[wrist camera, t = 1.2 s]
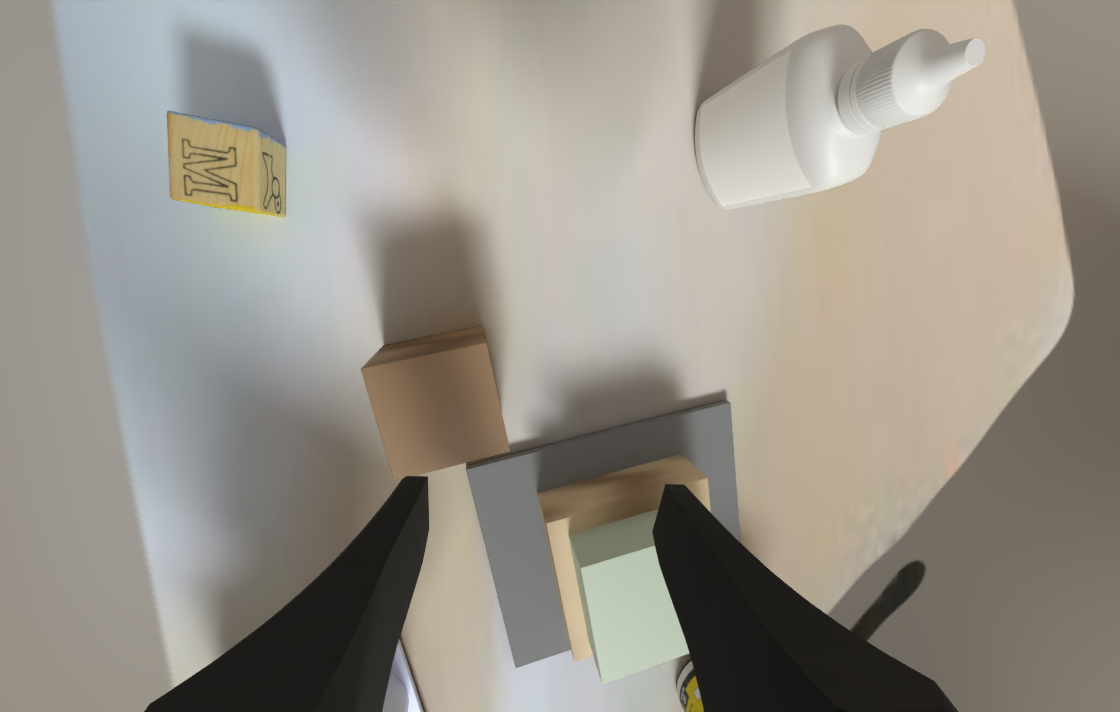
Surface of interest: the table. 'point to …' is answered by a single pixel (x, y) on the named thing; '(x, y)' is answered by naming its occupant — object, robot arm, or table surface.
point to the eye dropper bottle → (820, 111)
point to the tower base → (604, 522)
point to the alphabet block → (225, 165)
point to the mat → (518, 477)
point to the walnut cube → (436, 402)
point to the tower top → (625, 597)
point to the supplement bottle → (689, 690)
